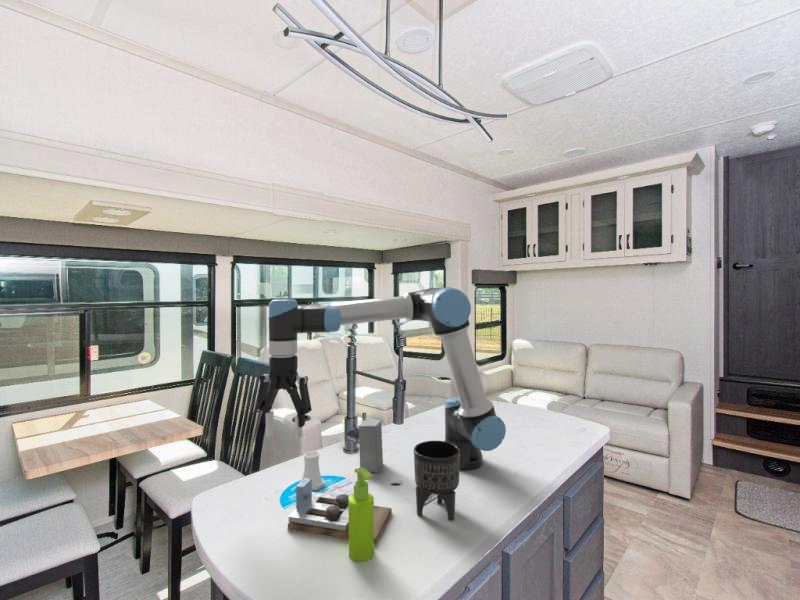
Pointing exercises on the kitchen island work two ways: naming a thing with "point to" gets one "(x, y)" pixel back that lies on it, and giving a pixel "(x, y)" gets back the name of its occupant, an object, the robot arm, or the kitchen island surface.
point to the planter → (436, 473)
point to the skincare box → (370, 445)
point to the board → (379, 518)
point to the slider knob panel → (316, 508)
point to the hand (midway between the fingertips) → (284, 436)
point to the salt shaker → (313, 469)
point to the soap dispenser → (361, 519)
